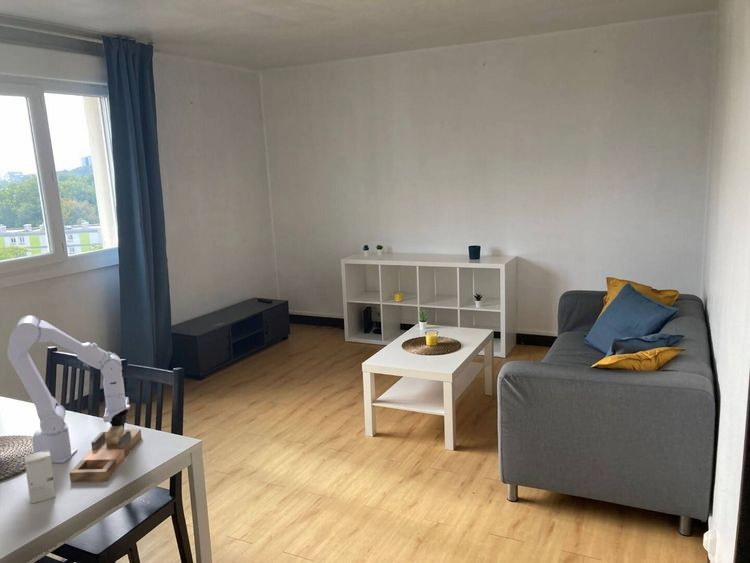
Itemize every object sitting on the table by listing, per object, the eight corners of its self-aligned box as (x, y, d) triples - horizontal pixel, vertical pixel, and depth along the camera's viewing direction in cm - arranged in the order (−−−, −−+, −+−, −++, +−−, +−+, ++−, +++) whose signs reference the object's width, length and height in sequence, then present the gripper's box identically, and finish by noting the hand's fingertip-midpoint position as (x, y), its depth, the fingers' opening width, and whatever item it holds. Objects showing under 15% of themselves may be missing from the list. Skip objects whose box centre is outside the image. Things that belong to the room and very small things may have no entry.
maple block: (106, 444, 182) (104, 432, 182) (111, 437, 186) (109, 426, 186) (119, 443, 183) (117, 431, 182) (124, 437, 186) (122, 425, 186)
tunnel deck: (70, 482, 167) (68, 464, 166) (110, 438, 193) (108, 422, 192) (106, 481, 167) (104, 463, 166) (141, 437, 193) (139, 421, 192)
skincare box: (30, 504, 156) (24, 462, 154) (29, 496, 160) (22, 455, 158) (56, 496, 160) (50, 455, 157) (55, 489, 163) (49, 448, 161)
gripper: (118, 402, 178) (123, 444, 181) (136, 384, 192) (140, 423, 195) (94, 402, 178) (99, 444, 181) (114, 384, 192) (118, 423, 195)
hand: (119, 433), depth 188 cm, fingers closed
